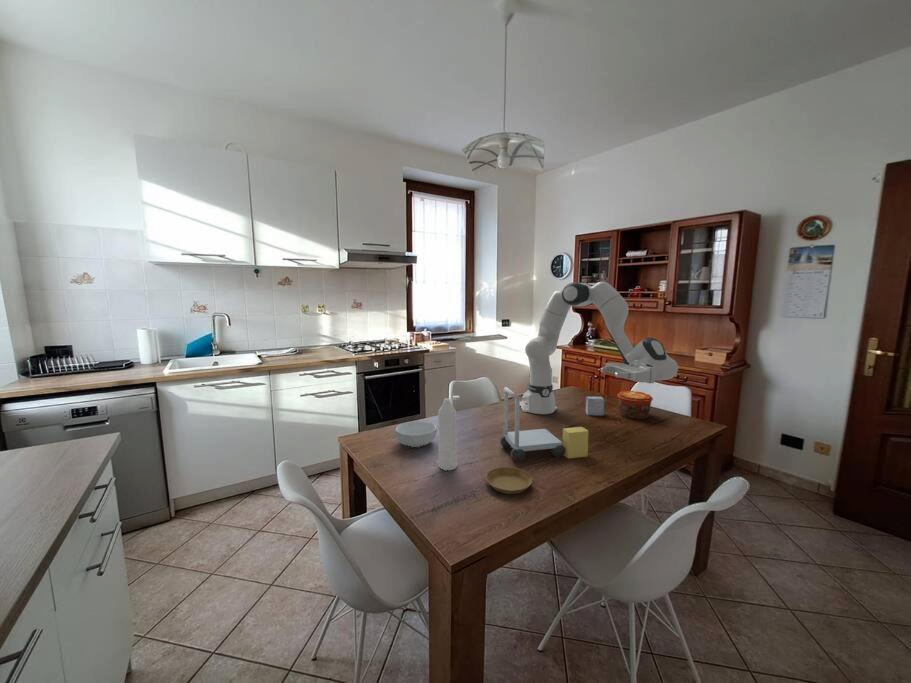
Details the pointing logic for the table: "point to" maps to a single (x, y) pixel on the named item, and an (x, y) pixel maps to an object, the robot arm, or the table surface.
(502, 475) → the plant saucer
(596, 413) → the medicine box
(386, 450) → the table surface
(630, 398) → the food container
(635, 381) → the robot arm
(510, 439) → the trolley
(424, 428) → the cereal bowl
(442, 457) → the water bottle
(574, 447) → the yellow rectangular block
